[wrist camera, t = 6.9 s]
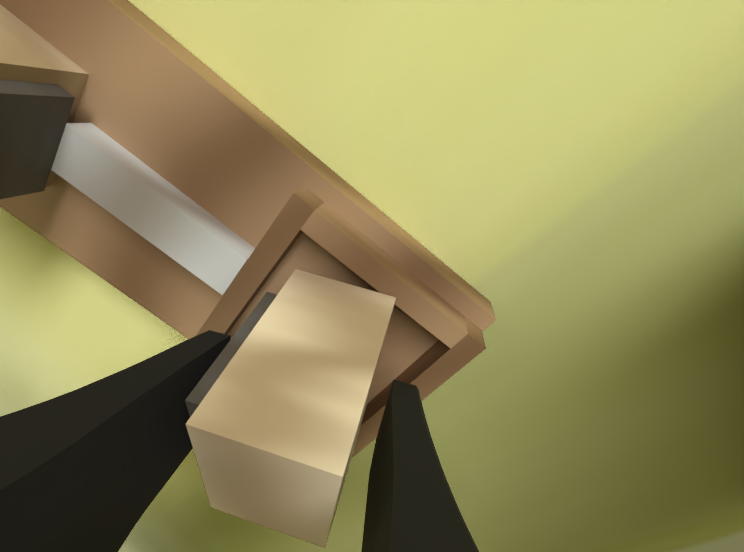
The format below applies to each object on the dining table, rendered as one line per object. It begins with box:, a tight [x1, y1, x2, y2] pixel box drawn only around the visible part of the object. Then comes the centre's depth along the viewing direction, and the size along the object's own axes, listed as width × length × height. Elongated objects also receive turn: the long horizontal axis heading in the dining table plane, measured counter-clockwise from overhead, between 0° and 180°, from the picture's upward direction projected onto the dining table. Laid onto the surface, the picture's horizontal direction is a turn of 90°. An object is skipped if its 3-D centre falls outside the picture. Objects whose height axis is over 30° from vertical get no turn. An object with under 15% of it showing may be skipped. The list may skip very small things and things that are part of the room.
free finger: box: [185, 269, 396, 548], centre depth 10 cm, size 4×4×5 cm
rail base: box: [0, 0, 496, 458], centre depth 10 cm, size 18×8×6 cm, turn 52°
